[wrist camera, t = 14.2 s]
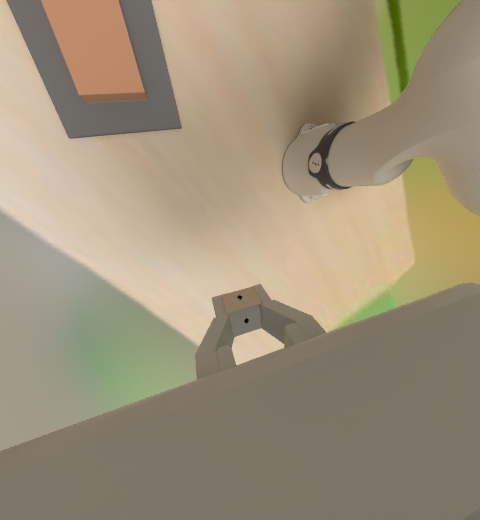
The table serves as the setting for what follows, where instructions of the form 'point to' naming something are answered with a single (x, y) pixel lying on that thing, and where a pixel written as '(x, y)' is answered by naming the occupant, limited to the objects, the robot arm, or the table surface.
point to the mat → (109, 113)
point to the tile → (96, 49)
